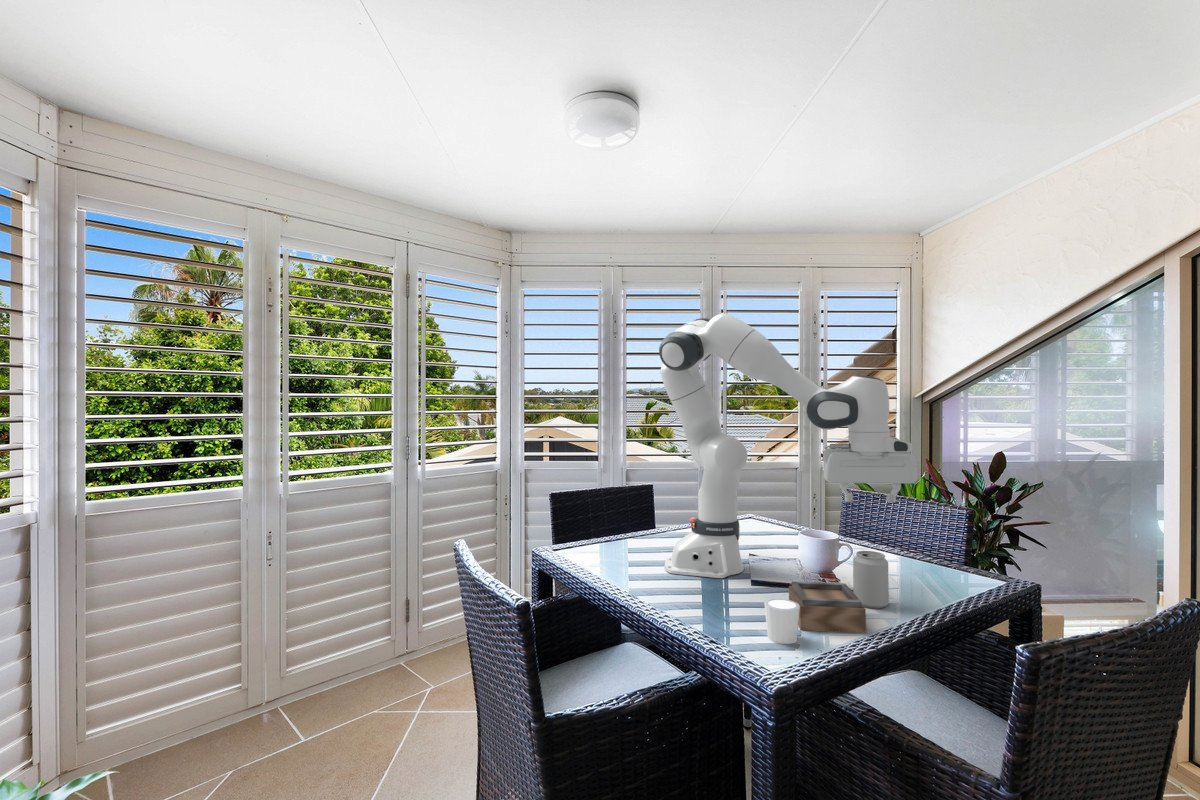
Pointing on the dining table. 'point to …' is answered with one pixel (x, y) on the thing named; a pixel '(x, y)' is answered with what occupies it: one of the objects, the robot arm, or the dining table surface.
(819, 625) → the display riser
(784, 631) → the white cylinder
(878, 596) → the can
